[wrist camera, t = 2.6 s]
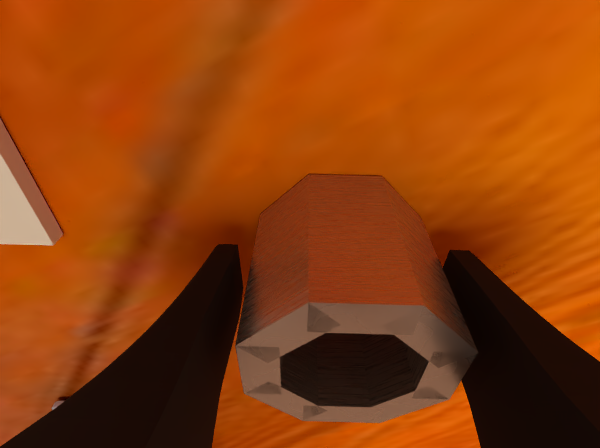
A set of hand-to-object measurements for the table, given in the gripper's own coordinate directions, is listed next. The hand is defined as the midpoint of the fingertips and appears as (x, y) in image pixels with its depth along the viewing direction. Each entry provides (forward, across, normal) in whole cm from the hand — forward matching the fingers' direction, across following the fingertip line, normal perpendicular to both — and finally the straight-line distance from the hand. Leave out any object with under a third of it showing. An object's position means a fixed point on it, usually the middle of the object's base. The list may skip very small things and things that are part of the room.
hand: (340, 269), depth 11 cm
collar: (+1, 0, 0) cm, 1 cm away
